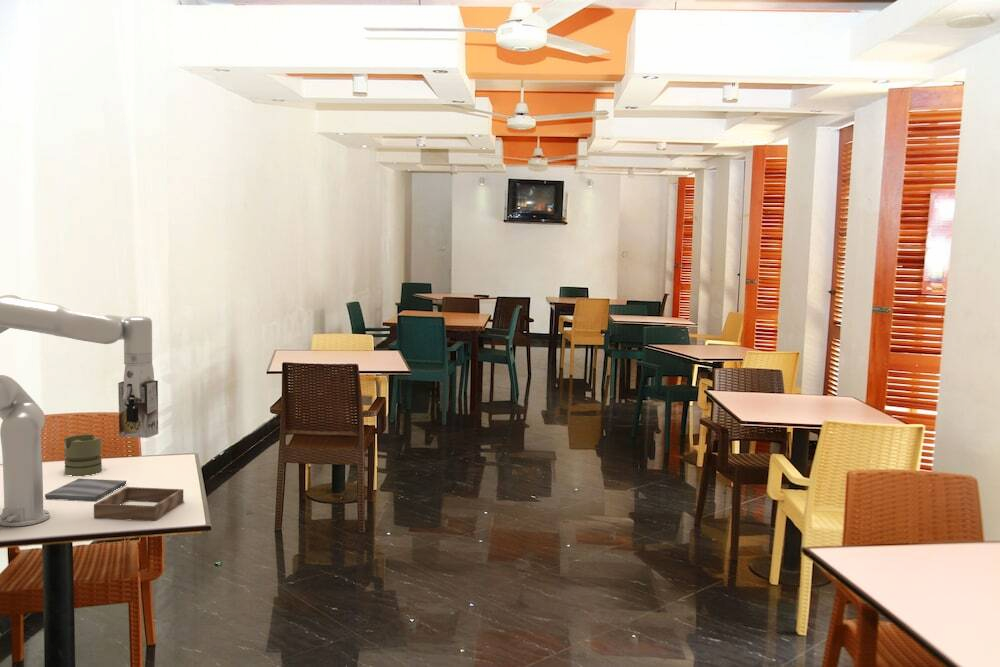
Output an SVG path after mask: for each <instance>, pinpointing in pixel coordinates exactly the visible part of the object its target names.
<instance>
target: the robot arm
mask: <svg viewBox="0 0 1000 667" xmlns="http://www.w3.org/2000/svg"><path fill="white" fill-rule="evenodd" d="M9 329H14V330H19V331H20V330H21V331H27V332H28V331H29V332H35V333H39V334H44V335H45V334H47V335H50V336H51V335H52V336H55V337H60V338H68V339H72V340H77V341H83V342H89V343H96V344H102V345H111V344H114V343H116V342H117V341H119V340H123V365H124V371H123V372H124V373H123V381H124V395H123V400H124V402H125V405H126V406H125V408H126V421H127V422H138V408H136V407H137V400H138V399H142V384H143V383H145V382H148V381H151V380H155V372H154V366H153V320H152V319H151V318H150V317H148V316H139V315H138V316H119V315H113V314H112V315H111V314H109V315H104V316H99V315H94V314H93V315H92V314H87V313H84V312H83V313H82V312H79V311H78V312H77V311H74V310H70V309H69V308H66V307H64V306H62V305H58V304H56V303H49V302H41V301H36V300H31V299H30V300H29V299H25V298H21V297H19V296H16V295H14V294H6V295H2V296H0V334H2V333H4V332H6V331H8V330H9ZM130 395H134V396H135V397H130ZM137 398H138V399H137ZM132 400H134V403H133V402H132ZM0 419H1V420H2V422H1V424H0V444H1V452H2V453H1V454H2V475H3V478H2V479H3V484H2V485H3V508H2V513H1V514H0V525H1V526H3V527H23V526H30V525H35V524H36V525H37V524H39V523H42V522H45V521H47V520H48V519H49V518H50V516H51V514H50V511H49V510H46V509H44V486H43V485H44V484H43V483H44V482H43V481H44V480H43V478H44V477H43V452H42V451H43V450H42V434H41V433H42V429H43V428H44V427H45V424H46V423H45V422H46V415H45V413H44V411H43V409H42V408H41V407H40V405H38V403H36V401H35V400H34V399H33V398H32V397H31V395H29V393H28V392H27V391H25V389H24V388H23V386H21V385H20V384H19V383H18V382H17V381H16V380H15V379H13V378H12V377H10V376H9V375H4V374H0Z"/></svg>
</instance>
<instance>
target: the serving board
mask: <svg viewBox="0 0 1000 667" xmlns="http://www.w3.org/2000/svg"><path fill="white" fill-rule="evenodd" d="M125 484H126V485H127V480H119V479H116V480H115V479H99V478H98V479H97V478H95V479H93V478H77V479H74V480H73V481H71V482H68V483H67V484H64V485H62V486H60V487H58V488H56V489H53V490H52V491H49V492H47V493H45V494H44V499H45V498H46V499H45V500H52V499H68V500H67V501H75V500H87V501H86V502H98V501H99V500H101V499H103V498H105V497H106V496H105V495H107V494H109V493H111V492H112V493H114V492H115V491H114V490H116V489H118V488H120V487H121V486H124V485H125ZM124 487H125V486H124ZM120 489H121V488H120ZM118 490H119V489H118ZM113 491H114V492H113ZM116 491H117V490H116ZM112 493H111V494H112ZM109 495H110V494H109ZM104 496H105V497H104ZM107 496H108V495H107ZM102 497H103V498H102ZM100 498H101V499H100ZM98 499H99V500H98ZM97 500H98V501H97Z"/></svg>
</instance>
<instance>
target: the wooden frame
mask: <svg viewBox="0 0 1000 667" xmlns="http://www.w3.org/2000/svg"><path fill="white" fill-rule="evenodd" d="M127 500H130V501H129V502H146V501H148V502H149V503H152V502H153V503H156V504H153V505H142V504H141V505H139V504H138V505H136V504H125V503H127V502H128V501H127ZM126 501H127V502H126ZM124 502H125V503H124ZM122 503H123V504H122ZM183 503H184V489H182V488H160V487H159V488H158V487H157V488H156V487H155V488H154V487H135V486H124V487H122V488H121V489H119V490H117V492H116V491H115V492H113V493H111V494H109V495H108V496H106V497H104V498H102V499H100V500H98V501H97V502H96V503H94V504H93V519H103V518H114V519H113V520H125V519H131V520H133V521H147V520H151V522H154V521H155V522H156V521H157V520H159V519H160V518H162V517H164V516H165V515H166V514H168V513H169V512H171V511H173V510H174V509H175V508H177V507H179V506H180V505H181V504H183ZM120 504H121V505H120ZM131 520H130V521H131Z"/></svg>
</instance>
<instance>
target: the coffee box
mask: <svg viewBox="0 0 1000 667" xmlns="http://www.w3.org/2000/svg"><path fill="white" fill-rule="evenodd" d="M158 383H159V380H156V379H154V380H151V381H148V382H145V383H143V384H142V399H138V398H137V399H138V400H137V407H136V408H138V422H127V421H126V408H125V406H126V405H125V402H124V400H123V395H124V380H123V381H121V382H117V388H118V389H117V390H118V392H117V393H118V437H120V438H143V439H144V438H146V439H149V438H151V437H154V436H156V435H159V392H158V391H159V387H158V386H159V384H158ZM130 397H135V396H134V395H130ZM132 402H133V403H134V400H132Z"/></svg>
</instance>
